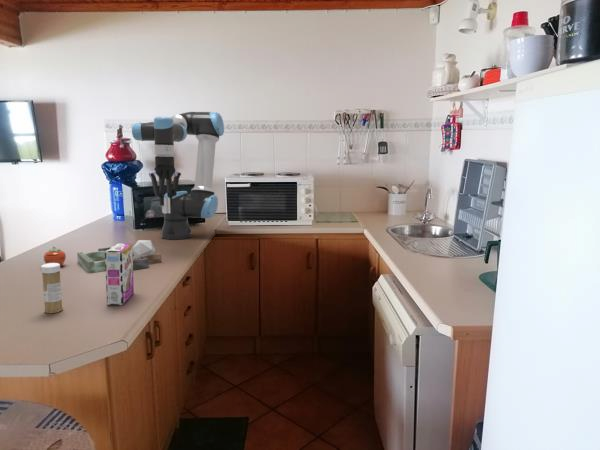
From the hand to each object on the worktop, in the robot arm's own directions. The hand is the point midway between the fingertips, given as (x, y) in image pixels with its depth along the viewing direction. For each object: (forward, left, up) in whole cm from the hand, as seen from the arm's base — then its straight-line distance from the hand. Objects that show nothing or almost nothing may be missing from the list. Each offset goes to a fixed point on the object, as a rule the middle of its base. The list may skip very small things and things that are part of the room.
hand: (166, 212), depth 182 cm
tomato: (+41, -7, -19) cm, 46 cm away
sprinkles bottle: (+50, +42, -19) cm, 68 cm away
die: (+10, 0, -19) cm, 21 cm away
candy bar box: (+32, +43, -19) cm, 57 cm away
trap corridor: (+19, 0, -18) cm, 27 cm away
